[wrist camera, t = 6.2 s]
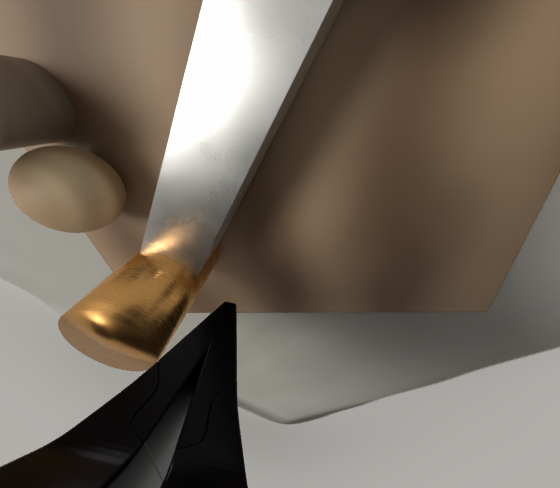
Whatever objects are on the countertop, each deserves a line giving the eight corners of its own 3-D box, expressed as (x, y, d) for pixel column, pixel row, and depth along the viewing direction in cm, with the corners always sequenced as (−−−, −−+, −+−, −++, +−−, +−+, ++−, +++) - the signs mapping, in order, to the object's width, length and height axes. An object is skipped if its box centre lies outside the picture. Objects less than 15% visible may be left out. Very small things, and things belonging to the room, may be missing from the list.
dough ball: (118, 133, 10) (30, 147, 7) (155, 209, 11) (99, 246, 8) (54, 145, 10) (-53, 162, 7) (98, 214, 12) (28, 251, 9)
